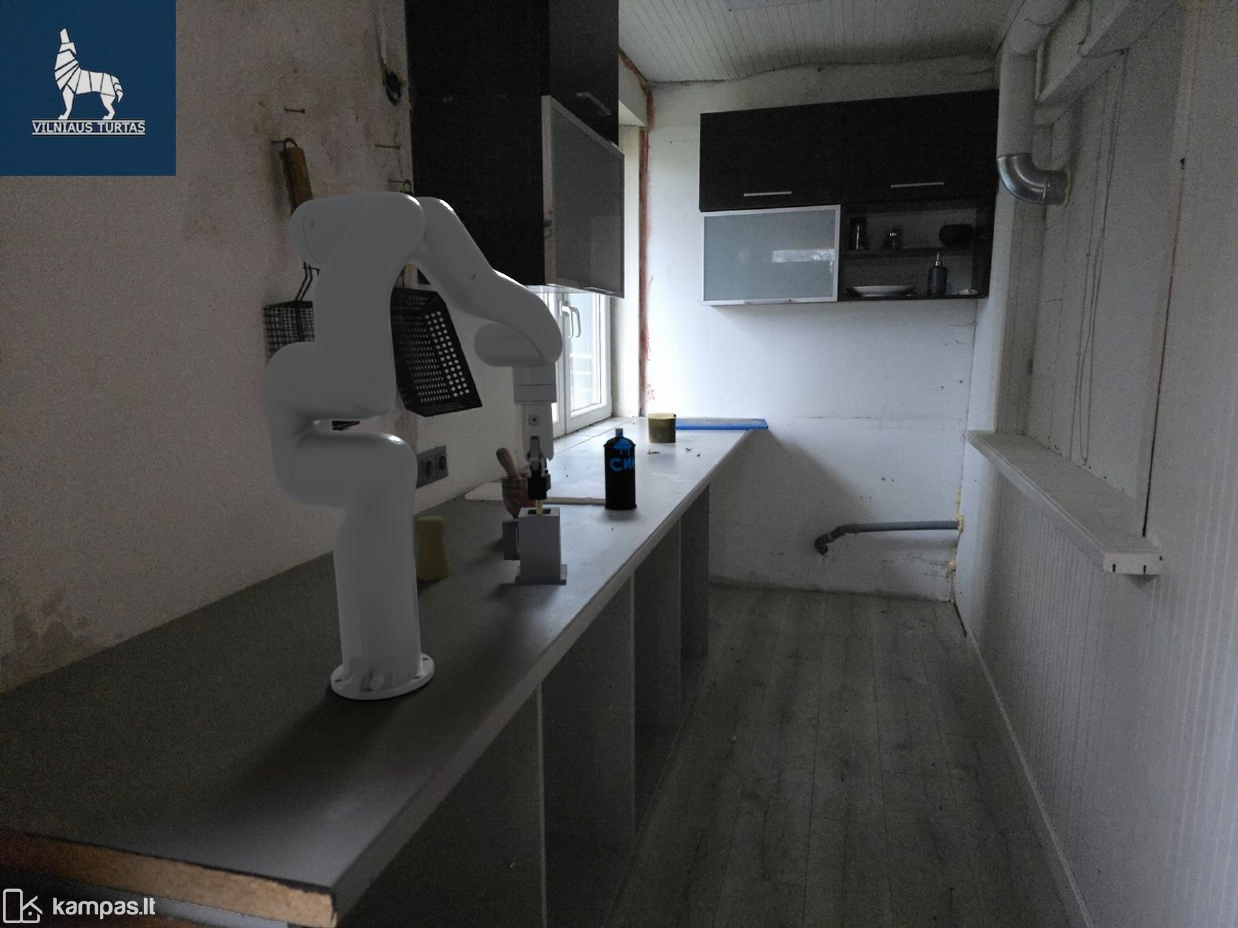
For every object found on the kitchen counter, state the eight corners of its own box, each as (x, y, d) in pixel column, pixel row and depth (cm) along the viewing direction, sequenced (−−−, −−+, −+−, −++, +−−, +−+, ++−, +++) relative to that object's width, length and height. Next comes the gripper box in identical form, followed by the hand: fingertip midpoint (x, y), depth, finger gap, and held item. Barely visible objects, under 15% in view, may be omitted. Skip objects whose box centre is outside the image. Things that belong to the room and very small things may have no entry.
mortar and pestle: (534, 542, 160) (531, 448, 157) (494, 541, 161) (490, 448, 158) (546, 528, 172) (543, 441, 168) (509, 528, 173) (505, 441, 169)
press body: (566, 583, 133) (564, 516, 131) (502, 585, 132) (499, 518, 130) (567, 568, 142) (565, 505, 140) (507, 570, 141) (504, 507, 139)
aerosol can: (599, 505, 194) (597, 427, 191) (628, 502, 197) (627, 425, 194) (612, 511, 187) (610, 431, 183) (642, 508, 190) (641, 428, 187)
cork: (441, 581, 136) (437, 521, 134) (410, 579, 137) (406, 520, 135) (455, 570, 142) (452, 513, 140) (425, 569, 143) (421, 512, 141)
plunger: (552, 558, 134) (550, 477, 132) (527, 559, 134) (524, 477, 132) (553, 551, 139) (551, 472, 136) (529, 552, 139) (526, 473, 136)
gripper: (555, 398, 123) (558, 505, 126) (558, 390, 140) (561, 485, 143) (508, 399, 123) (513, 506, 126) (517, 391, 140) (521, 486, 143)
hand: (538, 494), depth 135 cm, fingers open, 6 cm apart
